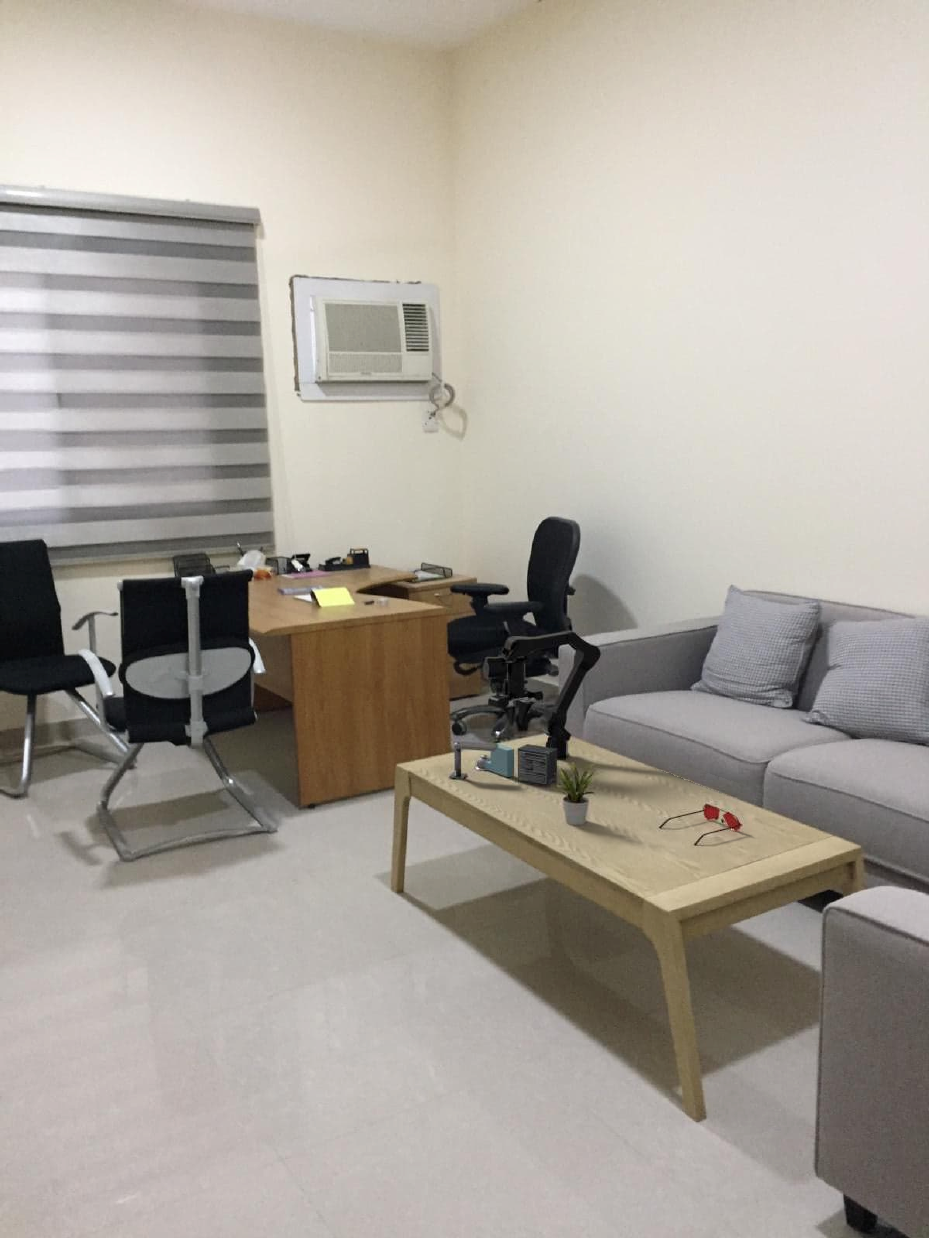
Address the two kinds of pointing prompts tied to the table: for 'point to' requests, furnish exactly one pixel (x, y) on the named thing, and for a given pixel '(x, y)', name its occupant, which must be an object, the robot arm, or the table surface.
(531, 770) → the small box
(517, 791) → the table surface
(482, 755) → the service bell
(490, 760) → the link
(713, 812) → the glasses
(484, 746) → the keeper
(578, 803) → the house plant
